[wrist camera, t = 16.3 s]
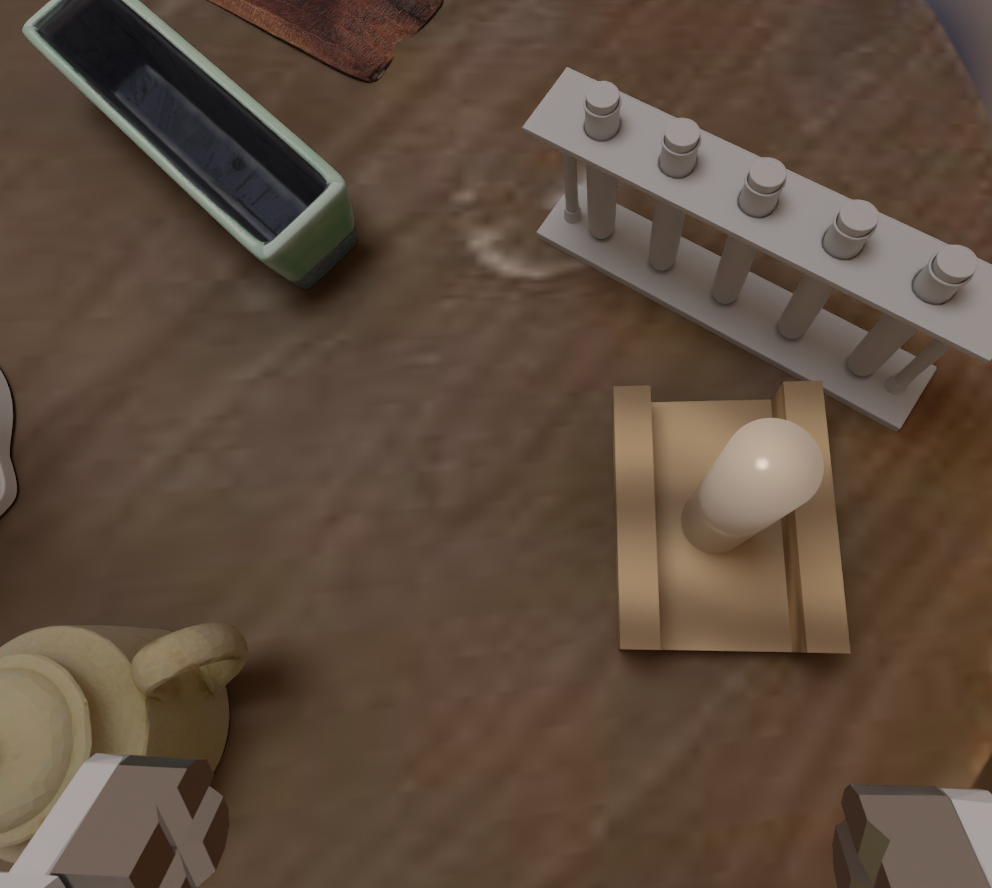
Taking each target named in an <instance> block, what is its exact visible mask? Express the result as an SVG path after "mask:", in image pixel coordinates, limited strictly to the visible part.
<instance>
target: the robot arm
mask: <svg viewBox="0 0 992 888" xmlns="http://www.w3.org/2000/svg"><path fill="white" fill-rule="evenodd" d="M12 426H13V406H12V399H11V394H10V390H9V387H8V384H7V382H6V379H5V377H4V375H3V373H2V372H1V370H0V516H1V515H2V514H3V513H4V512H5V511H6V510H7V509H8V508H9V507H10V505H11V504H12V503H13V501H14V499H15V497H16V494H17V482H16V477H15V473H14V469H13V466H12V462H11V459H10V441H11V434H12ZM213 777H214V773H213V771H212V769H211V767H210V765H209V763H208V761H207V759H194V758H177V757H159V756H142V755H131V754H107V753H96V754H95V755H93V756H92V757H91V758H89V759H88V760H87V761H85V762H84V763H83V764H82V766H81V767H80V768H79V770H78V771H77V773H76V774H75V776H74V777H73V779H72V780H71V782H70V783H69V785H68V786H67V788H66V789H65V790H64V792H63V793H62V795H61V796H60V798H59V799H58V801H57V802H56V804H55V805H54V807H53V808H52V809H51V811H50V812H49V814H48V815H47V817H46V818H45V820H44V821H43V823H42V824H41V826H40V827H39V829H38V830H37V831H36V833H35V834H34V836H33V837H32V839H31V840H30V842H29V843H28V845H27V846H26V848H25V849H24V851H23V852H22V853H21V855H20V856H19V858H18V859H17V861H16V862H15V864H14V865H13V867H12V868H11V870H10V871H9V872H0V888H197V887H198V886H199V885H200V884H201V883H202V882H204V881H205V880H206V879H207V878H208V877H209V876H210V875H211V874H213V873H214V872H215V871H216V869H217V866H218V864H219V861H220V859H221V857H222V854H223V852H224V849H225V845H226V840H227V834H228V829H229V815H228V807H227V805H226V802H225V799H224V797H223V796H222V795H221V794H219V793H218V792H217V791H215V790H214V789H213V788H211V787H210V786H209V785H210V783H211V781H212V779H213ZM841 804H842V808H843V811H844V814H845V817H846V819H845V820H844V821H842V822H841V823H839V824H838V825H836V827H835V832H834V838H833V867H834V873H835V878H836V883H837V888H992V794H991V793H990V792H988V791H987V790H982V789H952V788H936V787H935V786H896V785H855V784H850V785H848V786H847V787H846V788H845V789H844V793H843V797H842V801H841Z"/></svg>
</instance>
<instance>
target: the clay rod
mask: <svg viewBox="0 0 992 888" xmlns="http://www.w3.org/2000/svg"><path fill="white" fill-rule="evenodd" d="M823 473H824V462H823V456H822V453H821V450H820V448H819V446H818V444H817V443H816V441H815V440H814V438H813V437H812V436H811V435H810V434H809V433H808V432H807V431H806V430H804V429H803V428H802V427H800V426H799V425H797V424H795V423H793V422H790V421H787V420H784V419H778V418H763V419H758V420H755V421H752V422H750V423H748V424H746V425H744V426H743V427H741V428H740V429H739V430H738V431H737V432H736V433H735V434H734V435H733V436H732V438H731V439H730V441H729V442H728V443H727V445H726V446H725V448H724V449H723V451H722V452H721V453H720V455H719V456H718V458H717V459H716V461H715V462H714V464H713V465H712V466H711V468H710V469H709V471H708V472H707V474H706V475H705V477H704V478H703V479H702V481H701V482H700V484H699V485H698V487H697V488H696V489H695V491H694V492H693V494H692V495H691V497H690V498H689V500H688V501H687V502H686V504H685V506H684V508H683V510H682V514H681V526H682V530H683V532H684V535H685V536H686V538H687V539H688V541H689V542H690V543H691V544H692V545H693V546H695V547H696V548H698V549H699V550H701V551H704V552H707V553H712V554H721V553H725V552H728V551H730V550H732V549H734V548H736V547H737V546H739V545H740V544H742V543H743V542H745V541H746V540H748V539H750V538H751V537H753V536H754V535H756V534H757V533H759V532H760V531H762V530H764V529H765V528H767V527H768V526H770V525H771V524H773V523H775V522H776V521H778V520H779V519H781V518H782V517H784V516H785V515H787V514H789V513H790V512H792V511H793V510H795V509H796V508H798V507H800V506H801V505H803V504H804V503H806V502H807V501H808V500H809V499H810V498H812V497H813V495H814V494H815V493H816V492H817V490H818V488H819V487H820V484H821V482H822V478H823Z"/></svg>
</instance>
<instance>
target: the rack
mask: <svg viewBox="0 0 992 888" xmlns="http://www.w3.org/2000/svg"><path fill="white" fill-rule="evenodd" d="M763 418H778V419H784V420H787V421H790V422H793V423H795V424H797V425H799V426H800V427H802V428H803V429H804V430H806V431H807V432H808V433H809V434H810V435H811V436H812V437H813V438H814V440H815V441H816V443H817V444H818V446H819V448H820V450H821V453H822V456H823V462H824V473H823V478H822V482H821V484H820V487H819V488H818V490H817V492H816V493H815V494H814V495H813V497H812V498H810V499H809V500H808V501H807V502H806V503H804V504H803V505H801V506H800V507H798V508H796V509H795V510H793V511H792V512H790V513H789V514H787V515H785V516H784V517H782V518H781V519H779V520H778V521H776V522H775V523H773V524H771V525H770V526H768V527H767V528H765V529H764V530H762V531H760V532H759V533H757V534H756V535H754V536H753V537H751V538H750V539H748V540H746V541H745V542H743V543H742V544H740V545H739V546H737V547H736V548H734V549H732V550H730V551H728V552H725V553H721V554H712V553H707V552H704V551H701V550H699V549H698V548H696V547H695V546H693V545H692V544H691V543H690V542H689V541H688V539H687V538H686V536H685V535H684V532H683V530H682V526H681V514H682V510H683V508H684V506H685V504H686V502H687V501H688V500H689V498H690V497H691V495H692V494H693V492H694V491H695V489H696V488H697V487H698V485H699V484H700V482H701V481H702V479H703V478H704V477H705V475H706V474H707V472H708V471H709V469H710V468H711V466H712V465H713V464H714V462H715V461H716V459H717V458H718V456H719V455H720V453H721V452H722V451H723V449H724V448H725V446H726V445H727V443H728V442H729V441H730V439H731V438H732V436H733V435H734V434H735V433H736V432H737V431H738V430H739V429H740V428H741V427H743V426H744V425H746V424H748V423H750V422H752V421H755V420H758V419H763ZM612 426H613V466H614V505H615V545H616V585H617V625H618V649H636V650H703V651H758V652H804V653H851V652H850V642H849V633H848V623H847V613H846V604H845V594H844V584H843V575H842V565H841V556H840V546H839V536H838V527H837V517H836V507H835V498H834V488H833V479H832V469H831V459H830V450H829V440H828V430H827V421H826V411H825V401H824V392H823V382H822V381H787V382H783V383H782V384H781V386H780V387H779V388H778V390H777V391H776V393H775V394H774V396H773V397H772V398H771V399H767V400H728V401H689V402H651V390H650V385H648V386H613V404H612Z"/></svg>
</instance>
